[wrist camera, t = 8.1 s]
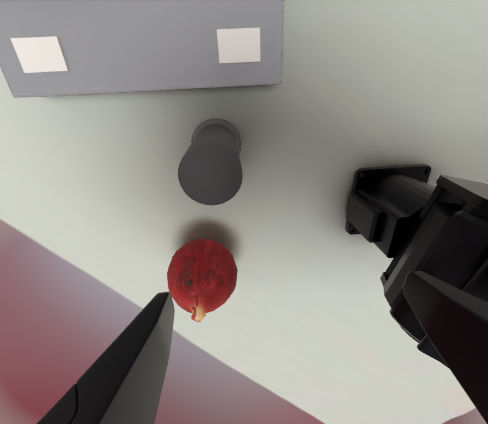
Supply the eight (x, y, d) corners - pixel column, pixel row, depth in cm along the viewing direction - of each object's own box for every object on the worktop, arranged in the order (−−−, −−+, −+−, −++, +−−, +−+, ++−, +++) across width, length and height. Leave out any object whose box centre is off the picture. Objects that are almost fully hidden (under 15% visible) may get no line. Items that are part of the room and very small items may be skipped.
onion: (166, 232, 22) (138, 298, 15) (224, 215, 22) (223, 275, 15) (190, 277, 25) (175, 351, 18) (242, 262, 25) (249, 332, 18)
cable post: (238, 117, 18) (246, 134, 11) (241, 165, 20) (249, 207, 13) (189, 120, 18) (164, 139, 11) (196, 168, 20) (178, 212, 13)
